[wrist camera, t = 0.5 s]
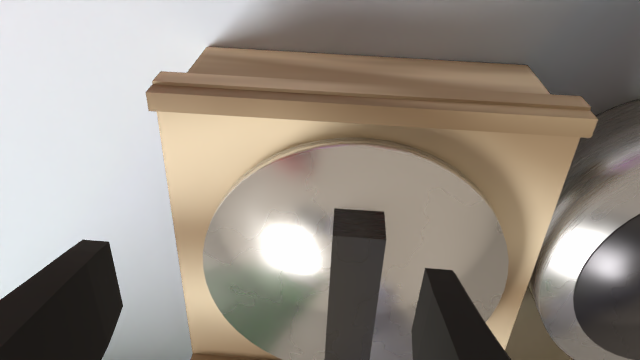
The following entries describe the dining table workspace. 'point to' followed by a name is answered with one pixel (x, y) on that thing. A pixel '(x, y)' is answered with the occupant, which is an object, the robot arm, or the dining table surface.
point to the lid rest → (360, 122)
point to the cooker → (596, 246)
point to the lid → (347, 248)
